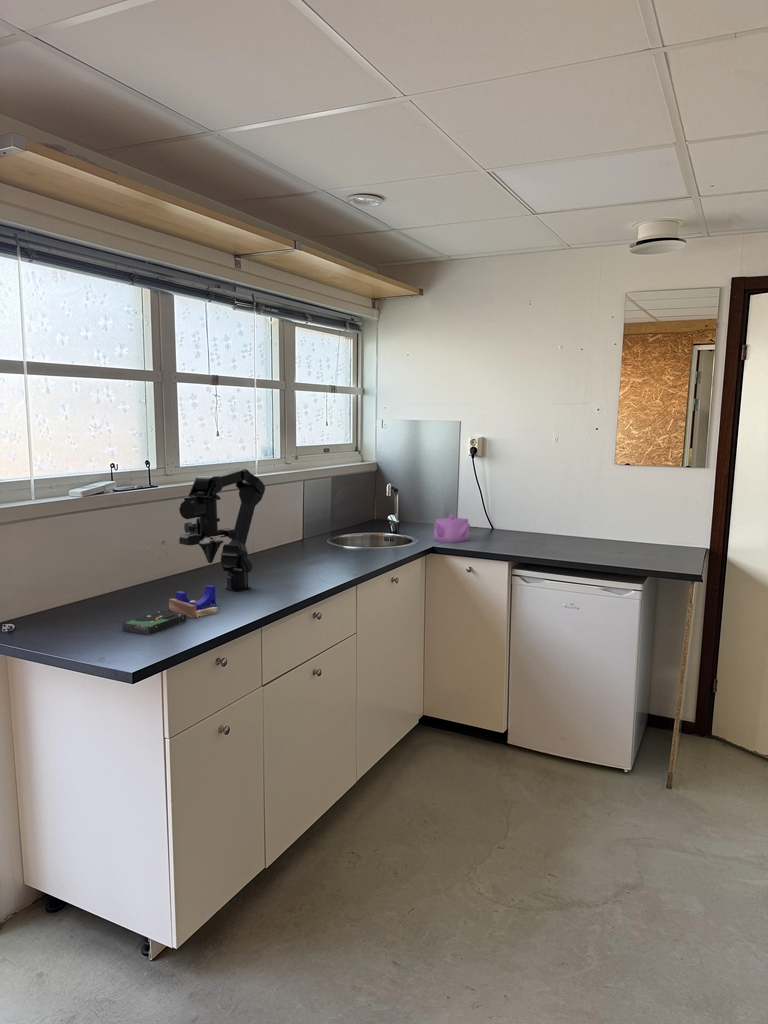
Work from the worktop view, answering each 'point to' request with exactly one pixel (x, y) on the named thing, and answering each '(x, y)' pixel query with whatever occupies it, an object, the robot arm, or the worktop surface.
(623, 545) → the worktop surface
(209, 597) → the blue cradle bracket
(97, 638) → the worktop surface
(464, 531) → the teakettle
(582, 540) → the worktop surface
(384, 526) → the worktop surface
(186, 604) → the frame
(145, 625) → the disk drive
